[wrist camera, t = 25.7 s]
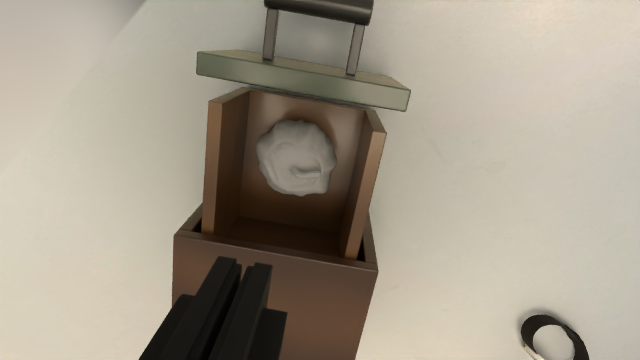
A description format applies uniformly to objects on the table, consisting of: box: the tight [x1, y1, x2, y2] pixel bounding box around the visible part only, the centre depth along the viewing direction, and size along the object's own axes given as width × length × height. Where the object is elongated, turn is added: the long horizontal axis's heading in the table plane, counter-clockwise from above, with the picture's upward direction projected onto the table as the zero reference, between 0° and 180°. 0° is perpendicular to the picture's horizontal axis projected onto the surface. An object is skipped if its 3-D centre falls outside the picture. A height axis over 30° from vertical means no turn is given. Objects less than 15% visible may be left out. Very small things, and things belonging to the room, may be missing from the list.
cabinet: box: [172, 203, 379, 360], centre depth 29 cm, size 15×13×10 cm
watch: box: [521, 315, 589, 360], centre depth 33 cm, size 8×5×4 cm, turn 43°
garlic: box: [256, 119, 337, 196], centre depth 25 cm, size 6×5×5 cm
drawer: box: [196, 0, 411, 260], centre depth 24 cm, size 18×11×8 cm, turn 170°
